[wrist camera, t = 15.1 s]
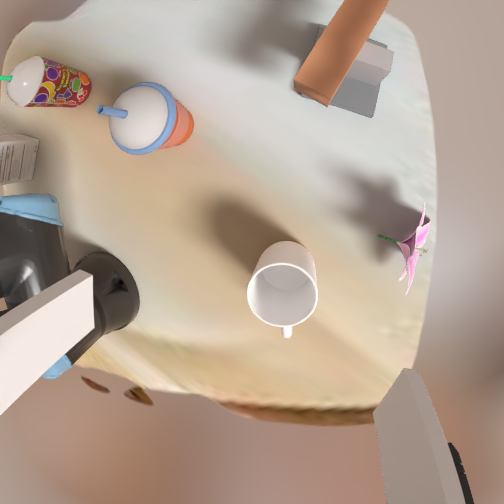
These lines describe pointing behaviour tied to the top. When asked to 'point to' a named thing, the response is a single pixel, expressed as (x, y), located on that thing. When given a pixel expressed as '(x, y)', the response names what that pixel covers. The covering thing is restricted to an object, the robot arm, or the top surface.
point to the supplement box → (17, 158)
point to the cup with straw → (147, 119)
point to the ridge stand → (362, 78)
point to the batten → (338, 49)
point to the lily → (412, 247)
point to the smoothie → (46, 84)
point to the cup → (283, 286)
